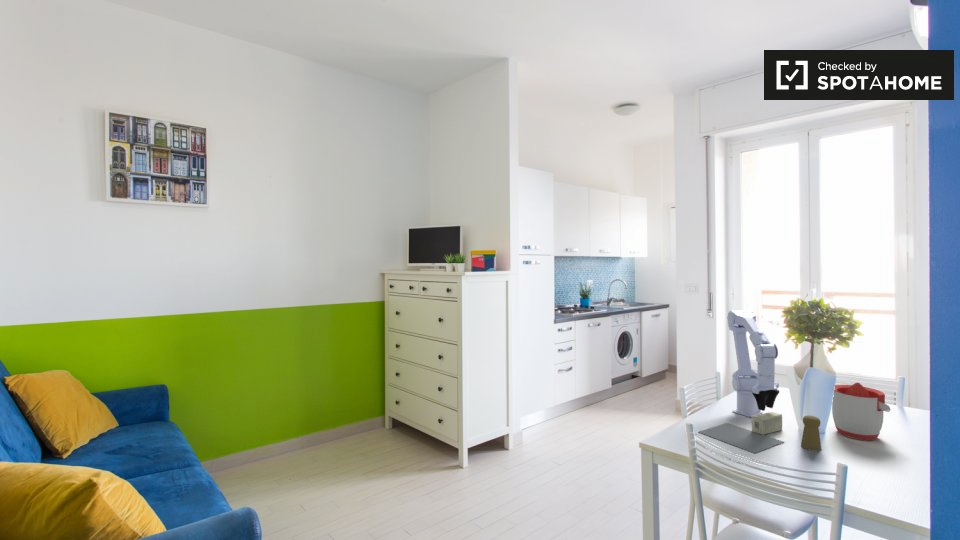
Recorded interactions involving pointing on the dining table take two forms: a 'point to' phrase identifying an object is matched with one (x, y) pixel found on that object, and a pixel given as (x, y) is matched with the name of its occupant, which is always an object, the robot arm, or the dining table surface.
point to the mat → (741, 437)
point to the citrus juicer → (858, 411)
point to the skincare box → (766, 423)
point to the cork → (811, 433)
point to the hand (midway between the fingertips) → (765, 408)
